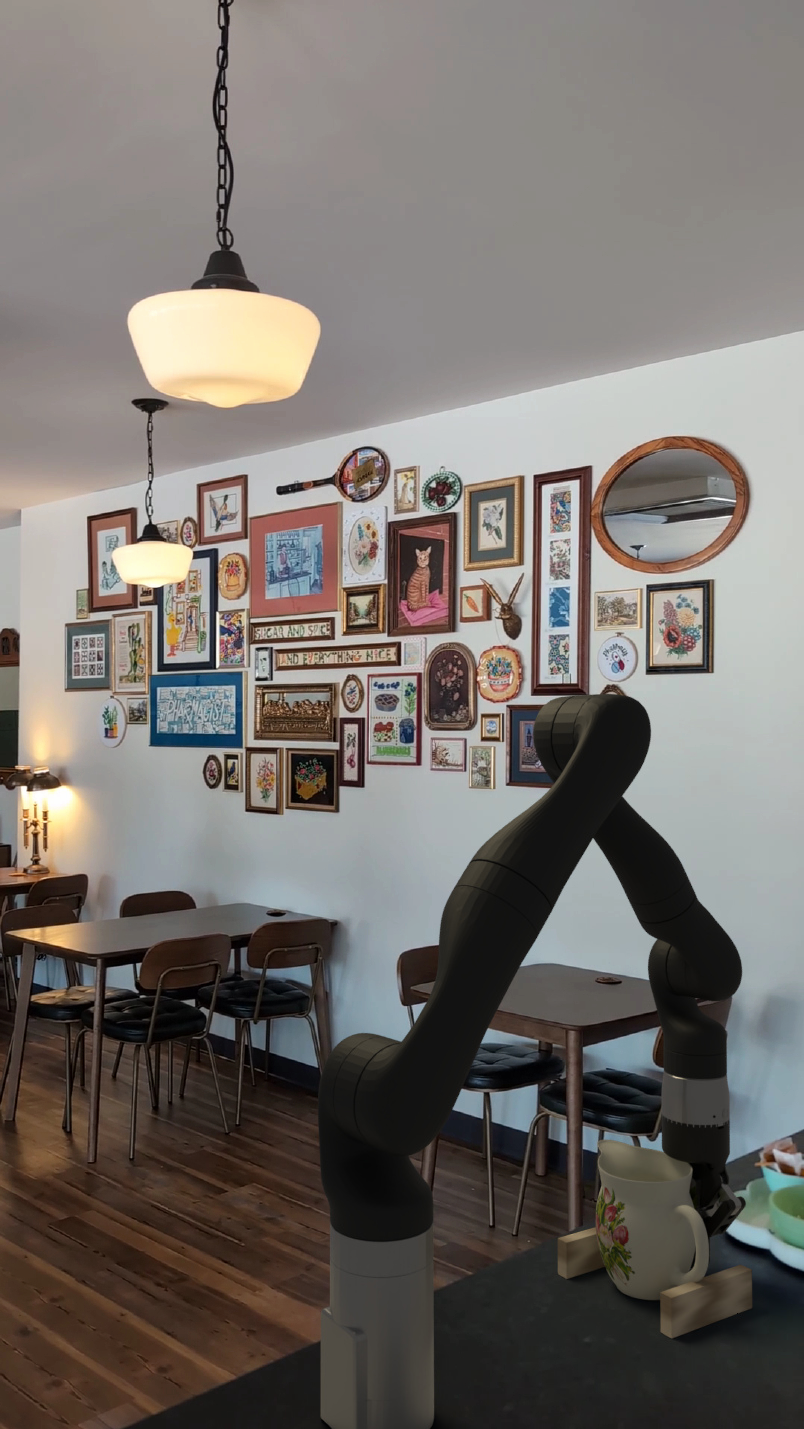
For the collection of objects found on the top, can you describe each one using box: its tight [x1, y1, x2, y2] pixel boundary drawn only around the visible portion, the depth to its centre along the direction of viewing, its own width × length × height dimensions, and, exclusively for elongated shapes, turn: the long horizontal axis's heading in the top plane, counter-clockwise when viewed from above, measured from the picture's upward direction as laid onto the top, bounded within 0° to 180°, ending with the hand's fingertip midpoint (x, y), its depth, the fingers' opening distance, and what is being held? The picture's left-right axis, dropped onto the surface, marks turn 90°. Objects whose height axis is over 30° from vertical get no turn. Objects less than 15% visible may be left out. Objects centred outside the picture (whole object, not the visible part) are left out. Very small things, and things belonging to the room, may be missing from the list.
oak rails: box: [557, 1226, 753, 1339], centre depth 128 cm, size 12×18×4 cm
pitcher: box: [595, 1139, 710, 1301], centre depth 128 cm, size 11×18×14 cm, turn 26°
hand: (696, 1267), depth 131 cm, fingers closed
